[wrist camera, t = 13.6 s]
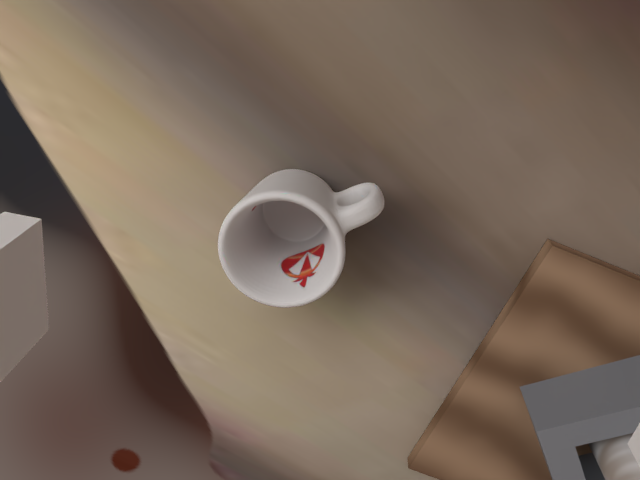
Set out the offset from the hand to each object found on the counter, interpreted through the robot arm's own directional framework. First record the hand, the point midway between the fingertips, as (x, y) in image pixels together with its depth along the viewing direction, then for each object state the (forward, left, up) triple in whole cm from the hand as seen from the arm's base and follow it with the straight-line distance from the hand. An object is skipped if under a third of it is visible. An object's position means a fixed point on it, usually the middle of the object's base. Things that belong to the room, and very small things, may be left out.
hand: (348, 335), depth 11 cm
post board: (+16, +29, -28) cm, 43 cm away
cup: (+8, 0, -29) cm, 30 cm away
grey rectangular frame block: (+18, +31, -27) cm, 45 cm away
